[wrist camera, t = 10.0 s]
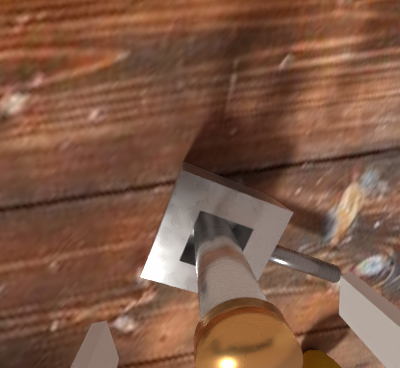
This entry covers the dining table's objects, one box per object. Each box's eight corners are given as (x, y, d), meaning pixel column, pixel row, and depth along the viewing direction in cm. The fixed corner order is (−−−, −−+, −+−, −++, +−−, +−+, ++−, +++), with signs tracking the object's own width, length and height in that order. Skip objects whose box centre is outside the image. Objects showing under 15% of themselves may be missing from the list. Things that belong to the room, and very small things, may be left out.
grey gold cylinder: (186, 210, 21) (186, 336, 8) (229, 203, 22) (302, 315, 8) (193, 248, 23) (203, 416, 9) (233, 242, 23) (303, 396, 9)
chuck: (152, 241, 25) (140, 276, 18) (183, 161, 23) (181, 169, 16) (293, 286, 28) (324, 329, 21) (331, 218, 26) (378, 244, 19)
